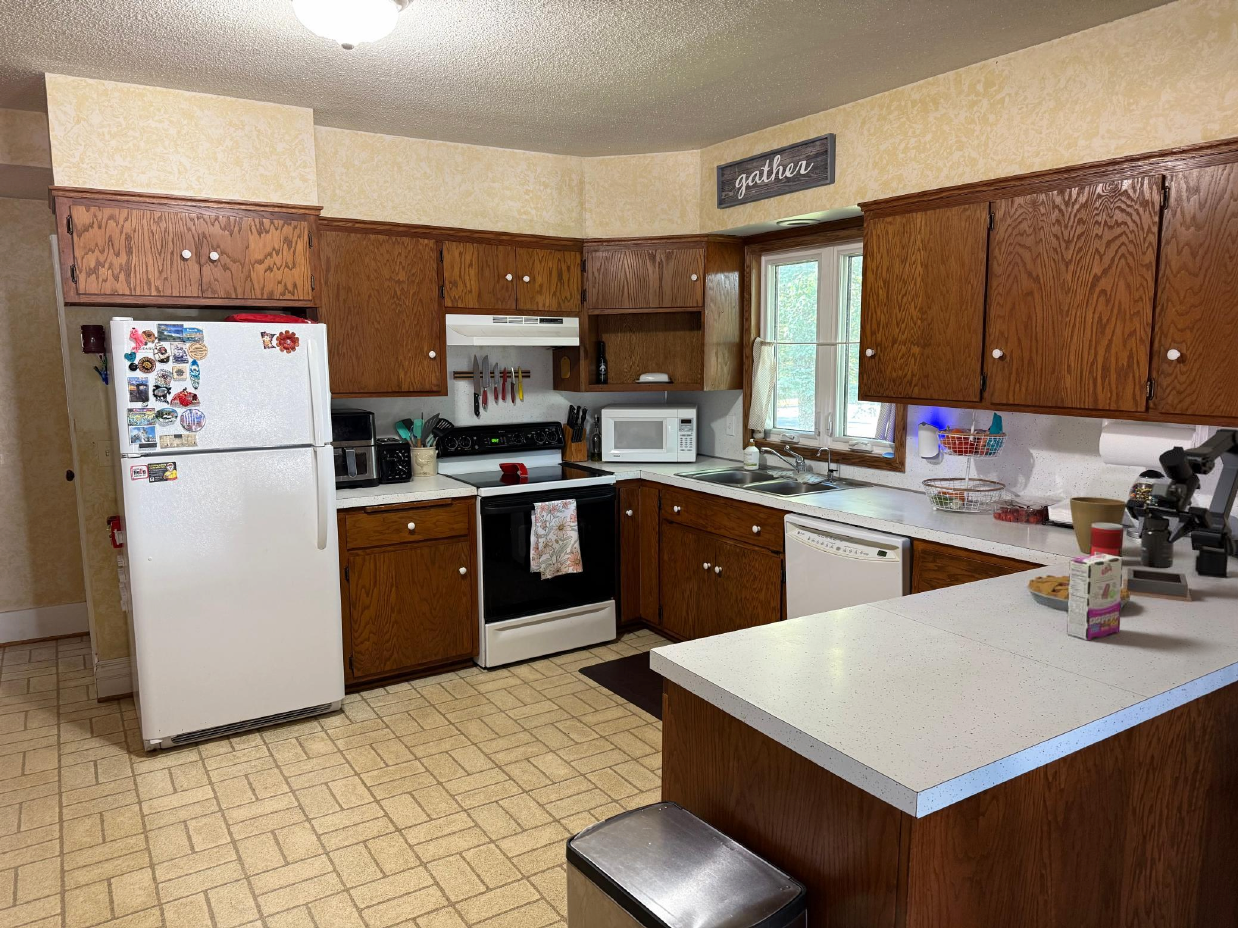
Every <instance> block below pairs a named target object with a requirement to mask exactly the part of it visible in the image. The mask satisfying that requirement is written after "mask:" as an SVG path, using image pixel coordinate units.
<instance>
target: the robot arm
mask: <svg viewBox="0 0 1238 928" xmlns="http://www.w3.org/2000/svg"><path fill="white" fill-rule="evenodd" d="M1218 458H1220V460H1221V462H1222V465H1223V466H1222V468H1221V472H1220V475H1219V478H1218V481H1217V484H1216V486H1215V488H1214V489H1215V490H1214V493H1213V496H1212V499H1211V501H1210V505H1209V507H1202V506H1201V507H1200V506H1192V504H1193V502H1192V500H1191V499H1192V498H1193V495H1194V493H1195V492H1196V490H1201V489H1202V487H1201V483H1200V482H1201V480H1200V478H1199V476H1198V475H1204V476H1207V475H1209V474H1211V472H1212V471H1213V470H1214V468H1215V467H1216V462H1215V461H1216V460H1217V459H1218ZM1158 462H1159V464H1160V466H1161V468H1162V469H1163V472H1164V474H1165V476H1166V478H1168V479H1169V480H1170V482H1169V484H1166V483H1159V482H1157V483H1156V482H1155V483H1154V482H1153V483H1152V485H1151V489H1150V493H1149V496H1150V497H1153V498H1154V500H1153V502H1154V504H1155V505H1157V506H1153V505H1149V504H1148V503H1147V501H1146V499H1139V498H1138V499H1136V498H1129V499H1128V500H1127V501H1126V504H1125V507H1126V508H1125V510H1127V512H1128V514H1129V517H1130V518H1131V519H1133V520H1138V531H1137V532H1138V534H1137V536H1138V538H1139V539H1140V540H1141V536H1142V531H1143V530H1144V529H1145V528H1147V525H1146V523H1147V518H1149V517H1151V516H1152V515H1154V516H1158V517H1159V516H1161V517H1162V518H1168V519H1178V521H1177V524H1176V525H1175V527H1174V529H1173V530H1172V534H1171V536H1170V538H1169V543H1171V544H1172V543H1173V542H1174V543H1175V542H1177V541H1178V540H1180V539H1181V538H1183V537H1185V536H1187V535H1189V534H1190V542H1191V549H1192V551H1197V552H1198V554H1196V555H1195V560H1194V561H1195V563H1194V564H1195V565H1194V570H1195V572H1196V573H1197V575H1198V576H1208V577H1215V578H1224V577H1225V578H1226V579H1227V578H1229V577H1228V574H1227V573H1228V572H1227V571H1228V561H1229V560H1228V559H1229V556H1235V554H1236V551H1237V544H1236V542H1235V540H1234V538H1233V537H1234V536H1232V533H1233V529H1232V526H1231V525H1230V522H1229V518H1230V515H1231V512H1232V508H1233V506H1234V503H1235V501H1236V497H1237V494H1238V429H1235V428H1233V429H1232V428H1220V429H1219V428H1218V429H1217V430H1216V431H1215V432H1214V434H1213V435H1211V437H1210V438H1208V439H1207V440H1205V441H1204V442H1203V443H1201V445H1198V446H1197V447H1191V448H1186V449H1185V448H1184V447H1183V446H1175V445H1174V446H1173V448H1172V449H1167V450H1166V451H1165V452H1163V453H1162V454H1160V455H1159V457H1158ZM1187 507H1188V508H1187ZM1186 509H1187V510H1186Z"/></svg>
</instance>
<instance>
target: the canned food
mask: <svg viewBox="0 0 1238 928" xmlns="http://www.w3.org/2000/svg"><path fill="white" fill-rule="evenodd" d="M1123 543H1124V526H1123V525H1122V524H1121V525H1119V524H1113V523H1093V524H1092V526H1091V540H1090V554H1089V556H1093V555H1099V554H1108V555H1113V556H1117V557H1122V558H1123Z"/></svg>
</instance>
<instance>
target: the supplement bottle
mask: <svg viewBox="0 0 1238 928" xmlns="http://www.w3.org/2000/svg"><path fill="white" fill-rule="evenodd" d="M1146 525H1147V528H1145V529H1144V530H1143V531H1142V536H1141V539H1140V540H1141V541H1140V542H1141V543H1140V563H1141V565H1142V566H1143V567H1145V568H1149V569H1150V568H1152V569H1169V568H1172V567H1173V563H1174V543H1175V542H1173V543H1172V544H1171V543H1169V538H1170V536H1171V534H1172V532H1173V530H1171V529H1170V527H1171V525H1170V518H1168V517H1162V516H1161V517H1159V516H1157V517H1156V516H1152V517H1151V516H1150V517H1149V518H1147V523H1146Z"/></svg>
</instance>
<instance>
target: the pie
mask: <svg viewBox="0 0 1238 928" xmlns="http://www.w3.org/2000/svg"><path fill="white" fill-rule="evenodd" d="M1026 589H1027V590H1028V591H1029V592H1030V594H1031V596H1032V597H1031V598H1032V600H1034V602H1035V603H1036V602H1037V603H1036V604H1038V603H1039V604H1038V605H1041V606H1043V605H1044V607H1046V606H1047V608H1050V609H1055V610H1060V611H1064V612H1068V599H1069V575H1063V576H1054V575H1050V574H1047V575H1046V576H1045V577H1043V576H1036V577H1035V578H1034V579H1030V580H1029V582H1028V584H1027V586H1026ZM1130 598H1131V595H1130V594H1129V593H1128V590H1127V589H1125V588H1123V587H1122V588H1121V609H1120V611H1121V610H1122V608H1123V607H1124V606H1125V604H1126V603H1127V602H1129V601H1130V600H1131V599H1130Z"/></svg>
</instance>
